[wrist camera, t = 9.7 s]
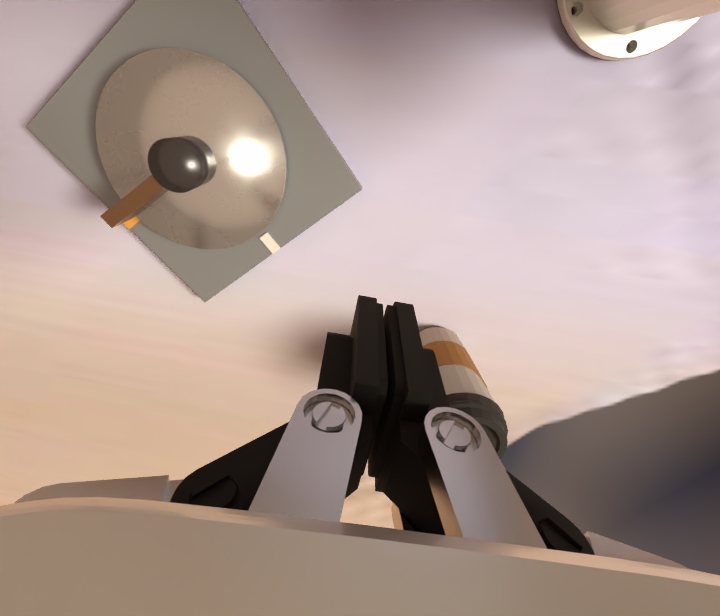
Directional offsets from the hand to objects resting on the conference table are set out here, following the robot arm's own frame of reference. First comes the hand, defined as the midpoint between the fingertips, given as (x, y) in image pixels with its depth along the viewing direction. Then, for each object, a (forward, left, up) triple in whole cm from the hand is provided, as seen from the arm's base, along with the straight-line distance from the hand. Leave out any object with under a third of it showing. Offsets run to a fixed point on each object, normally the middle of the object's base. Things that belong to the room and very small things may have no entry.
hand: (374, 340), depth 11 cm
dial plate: (+11, -11, -27) cm, 31 cm away
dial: (+11, -11, -25) cm, 29 cm away
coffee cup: (+4, +20, -27) cm, 34 cm away
